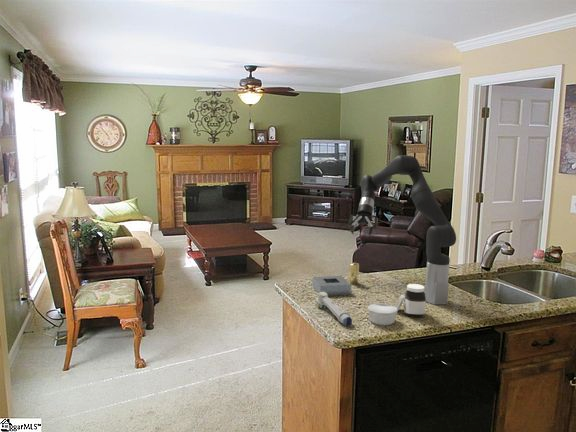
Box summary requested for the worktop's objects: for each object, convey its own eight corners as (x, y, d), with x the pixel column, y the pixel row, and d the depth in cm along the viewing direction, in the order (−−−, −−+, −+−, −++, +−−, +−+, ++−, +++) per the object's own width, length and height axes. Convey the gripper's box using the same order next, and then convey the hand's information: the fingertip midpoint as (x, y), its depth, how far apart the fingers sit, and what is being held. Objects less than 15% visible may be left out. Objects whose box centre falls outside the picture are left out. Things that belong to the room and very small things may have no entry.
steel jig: (350, 294, 216) (350, 284, 215) (320, 295, 213) (320, 285, 212) (341, 284, 229) (341, 275, 228) (312, 286, 226) (312, 276, 226)
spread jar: (426, 319, 188) (428, 290, 186) (397, 318, 188) (399, 289, 186) (419, 308, 199) (421, 281, 197) (392, 307, 200) (393, 280, 198)
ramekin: (394, 316, 190) (395, 303, 189) (398, 327, 179) (399, 314, 178) (366, 315, 191) (366, 302, 190) (368, 325, 180) (368, 312, 179)
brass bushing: (359, 284, 231) (360, 264, 229) (350, 284, 230) (351, 265, 228) (356, 281, 235) (357, 262, 233) (347, 281, 234) (348, 262, 233)
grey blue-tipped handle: (342, 317, 178) (314, 288, 200) (340, 333, 180) (313, 303, 202) (354, 316, 179) (326, 287, 202) (352, 331, 181) (324, 301, 204)
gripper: (351, 202, 248) (346, 228, 239) (379, 204, 243) (374, 230, 234) (353, 211, 253) (347, 236, 245) (380, 213, 249) (375, 239, 240)
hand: (361, 233), depth 240 cm, fingers open, 8 cm apart
